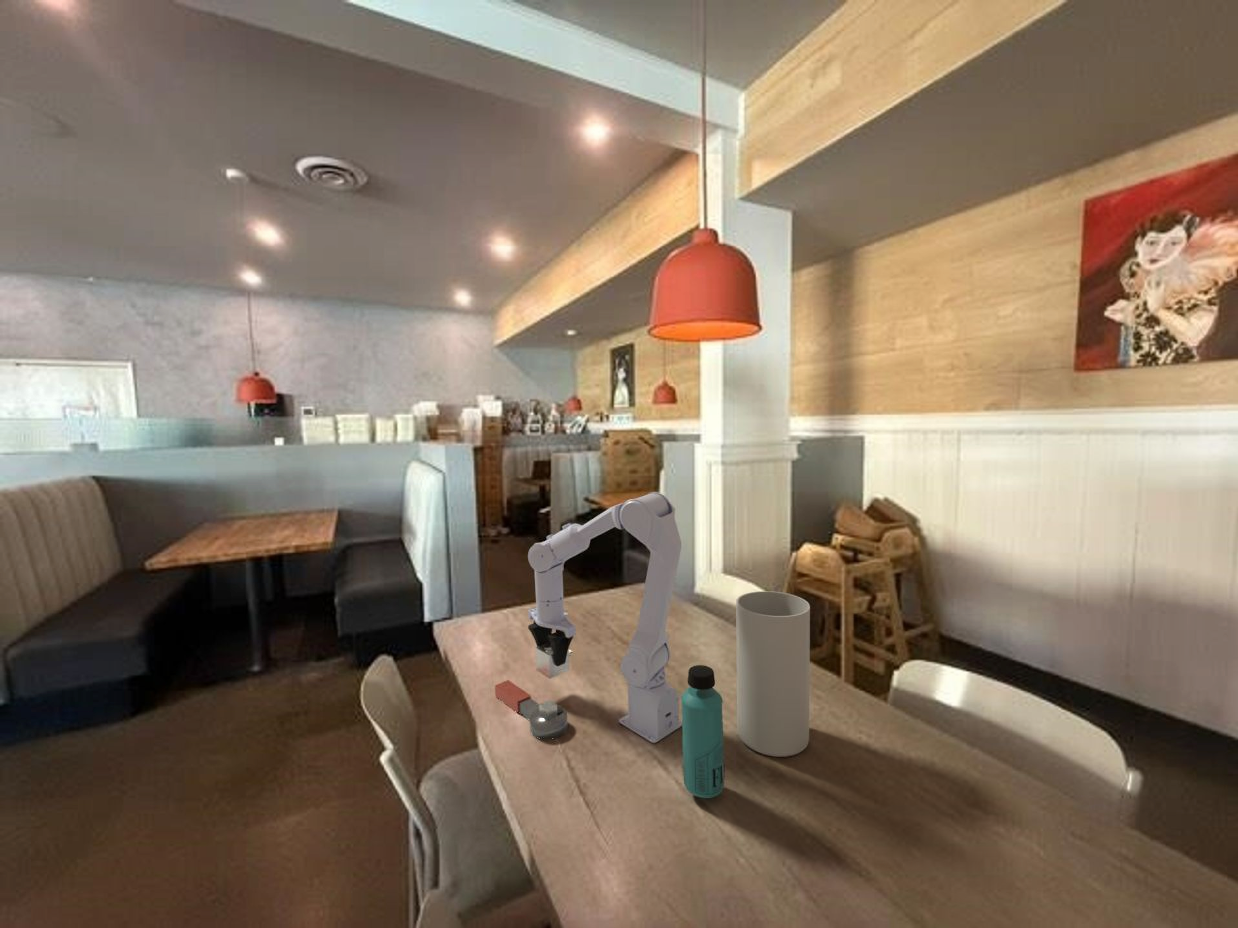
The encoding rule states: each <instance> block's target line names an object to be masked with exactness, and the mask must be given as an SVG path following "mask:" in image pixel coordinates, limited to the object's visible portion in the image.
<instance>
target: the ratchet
mask: <svg viewBox="0 0 1238 928" xmlns="http://www.w3.org/2000/svg"><path fill="white" fill-rule="evenodd" d="M494 691H495V696H496V697H495V698H496V699H498V698H499V699H500V700H499V699H498V700H499V701H501V702H502V701H503V702H504V703H506V704H507V705H508V706H509V707H508V706H507V705H506V704H505V705H506V706H507V707H508V708H510V707H511V708H512V709H513V711H514V710H515V711H516V712H518V713H519V712H520V713H521V714H523V716H522V717H524V716H525V717H526V718H527V719H526V718H525V717H524V718H525V719H526V720H528V719H529V720H530V721H529V720H528V721H529V728H530V729H529V730H530V731H531V732H530V735H531V736H532V735H533V736H535V737H538V738H540V739H539V740H541V739H551V740H553V739H552V738H555V739H557V738H556V737H558V738H559V736H560V737H561V735H562V734H563V735H564V734H566V732H567V730H568V713H567V710H566V709H564V707H562V706H558V705H557V703H555V702H554V701H552V700H551V699H547V700H546V701H544V702H541V703H538V702H536V701H535V700H533V699H532V695H531V694H530V693H528V692H527V691H525V690H523V688H520V687H519V686H518V685H516V684H515V683H514V682H512V681H510V680H509V679H507V680H505V681H502V682H500V683H497V684H496V685H494ZM503 702H502V703H503ZM504 703H503V704H504ZM511 708H510V709H511ZM512 709H511V710H512ZM515 711H514V712H515ZM516 712H515V713H516ZM518 713H517V714H518ZM520 713H519V714H520ZM521 714H520V715H521ZM563 735H562V736H563ZM533 736H532V737H533ZM535 737H534V738H535Z"/></svg>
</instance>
